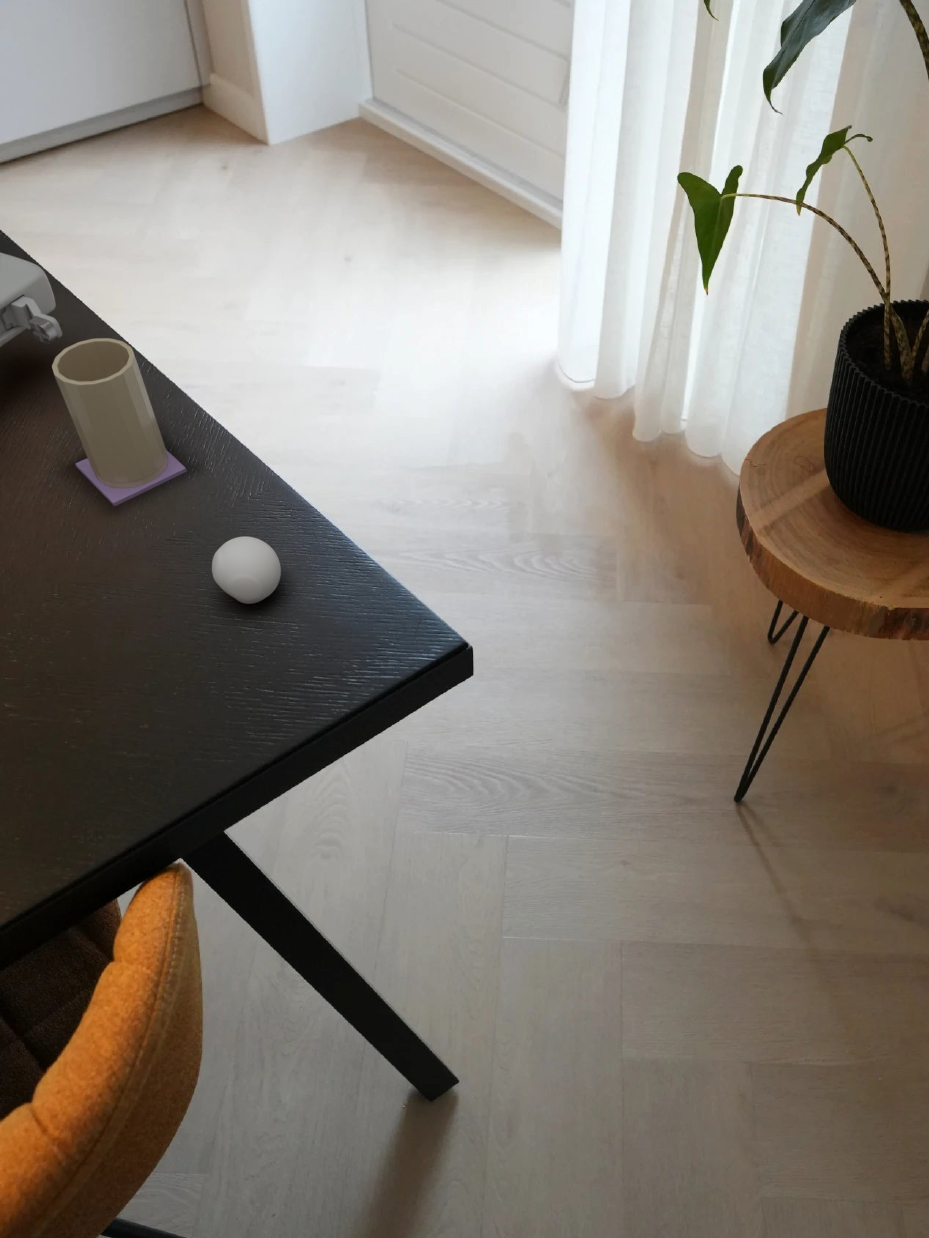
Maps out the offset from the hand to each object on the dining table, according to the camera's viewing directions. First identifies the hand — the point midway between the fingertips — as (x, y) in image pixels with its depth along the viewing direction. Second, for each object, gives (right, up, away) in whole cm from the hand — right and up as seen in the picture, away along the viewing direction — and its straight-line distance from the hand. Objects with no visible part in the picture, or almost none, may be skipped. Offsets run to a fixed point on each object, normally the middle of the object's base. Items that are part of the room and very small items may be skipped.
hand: (12, 362), depth 91 cm
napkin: (+8, -8, +3) cm, 12 cm away
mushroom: (+21, -19, -5) cm, 29 cm away
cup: (+8, -8, +3) cm, 12 cm away
